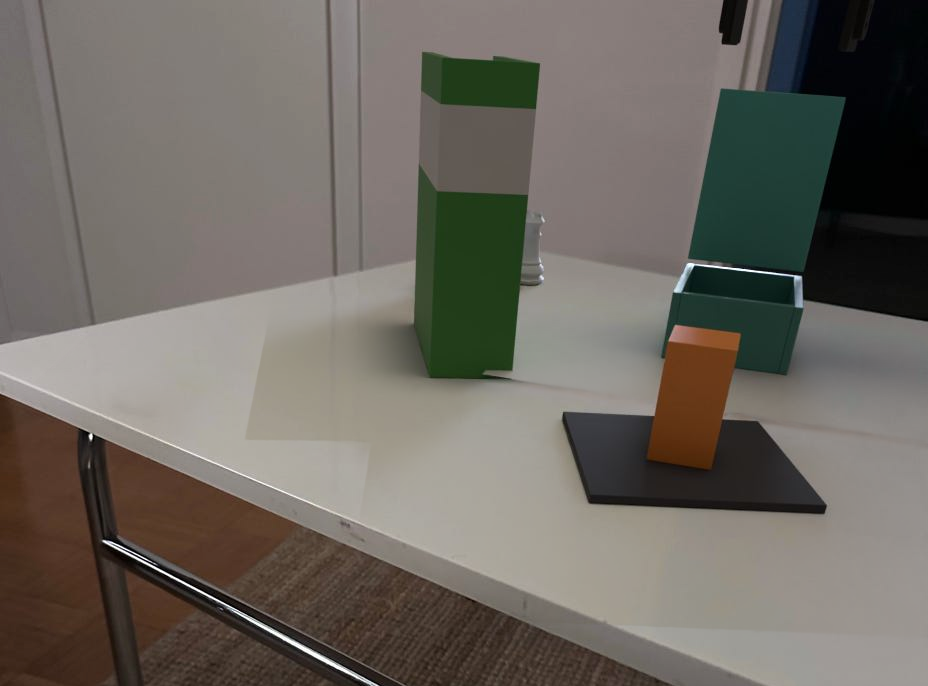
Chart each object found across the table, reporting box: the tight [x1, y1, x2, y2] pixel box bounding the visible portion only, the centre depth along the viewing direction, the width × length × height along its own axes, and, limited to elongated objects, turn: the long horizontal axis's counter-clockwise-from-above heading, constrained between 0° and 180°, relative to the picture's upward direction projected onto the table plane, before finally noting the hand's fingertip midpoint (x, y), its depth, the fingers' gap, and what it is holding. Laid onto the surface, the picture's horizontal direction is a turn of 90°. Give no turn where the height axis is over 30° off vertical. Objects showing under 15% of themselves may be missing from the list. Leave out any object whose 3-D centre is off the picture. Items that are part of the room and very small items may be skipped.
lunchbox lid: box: [687, 87, 847, 273], centre depth 91 cm, size 15×12×1 cm
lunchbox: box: [660, 262, 805, 376], centre depth 91 cm, size 15×12×7 cm
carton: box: [647, 325, 741, 470], centre depth 65 cm, size 5×5×8 cm
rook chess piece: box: [520, 209, 546, 286], centre depth 113 cm, size 4×4×8 cm
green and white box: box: [413, 51, 541, 380], centre depth 83 cm, size 18×7×24 cm, turn 6°
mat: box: [561, 411, 828, 514], centre depth 68 cm, size 16×16×1 cm
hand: (786, 47), depth 76 cm, fingers open, 9 cm apart
